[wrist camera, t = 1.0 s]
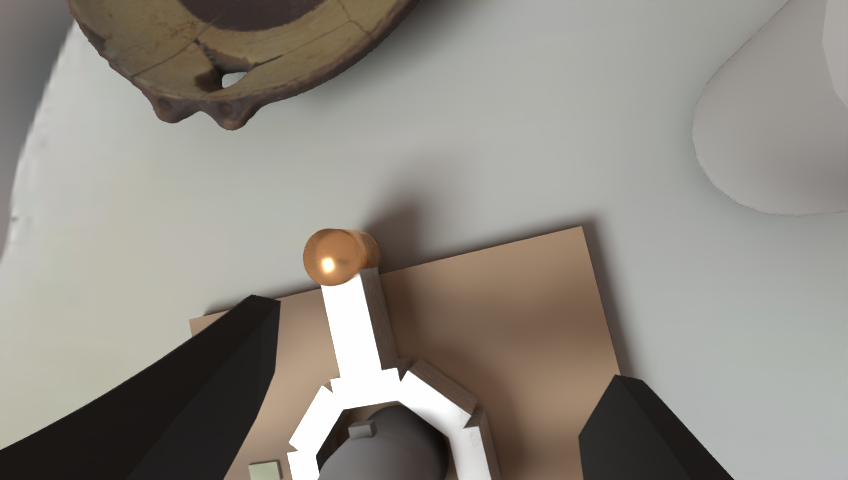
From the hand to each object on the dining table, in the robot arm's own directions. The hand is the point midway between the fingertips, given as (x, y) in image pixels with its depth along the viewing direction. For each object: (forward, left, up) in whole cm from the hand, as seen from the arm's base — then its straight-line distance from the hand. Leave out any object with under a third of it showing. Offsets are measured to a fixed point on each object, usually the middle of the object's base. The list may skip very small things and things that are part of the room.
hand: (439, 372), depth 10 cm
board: (-7, +6, -13) cm, 16 cm away
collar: (-3, +6, -12) cm, 14 cm away
